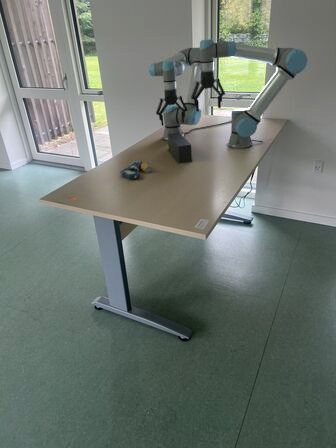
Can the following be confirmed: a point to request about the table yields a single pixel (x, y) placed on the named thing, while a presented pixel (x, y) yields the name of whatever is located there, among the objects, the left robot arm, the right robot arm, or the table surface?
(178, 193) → the table surface
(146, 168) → the spray gun
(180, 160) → the box
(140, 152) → the table surface
